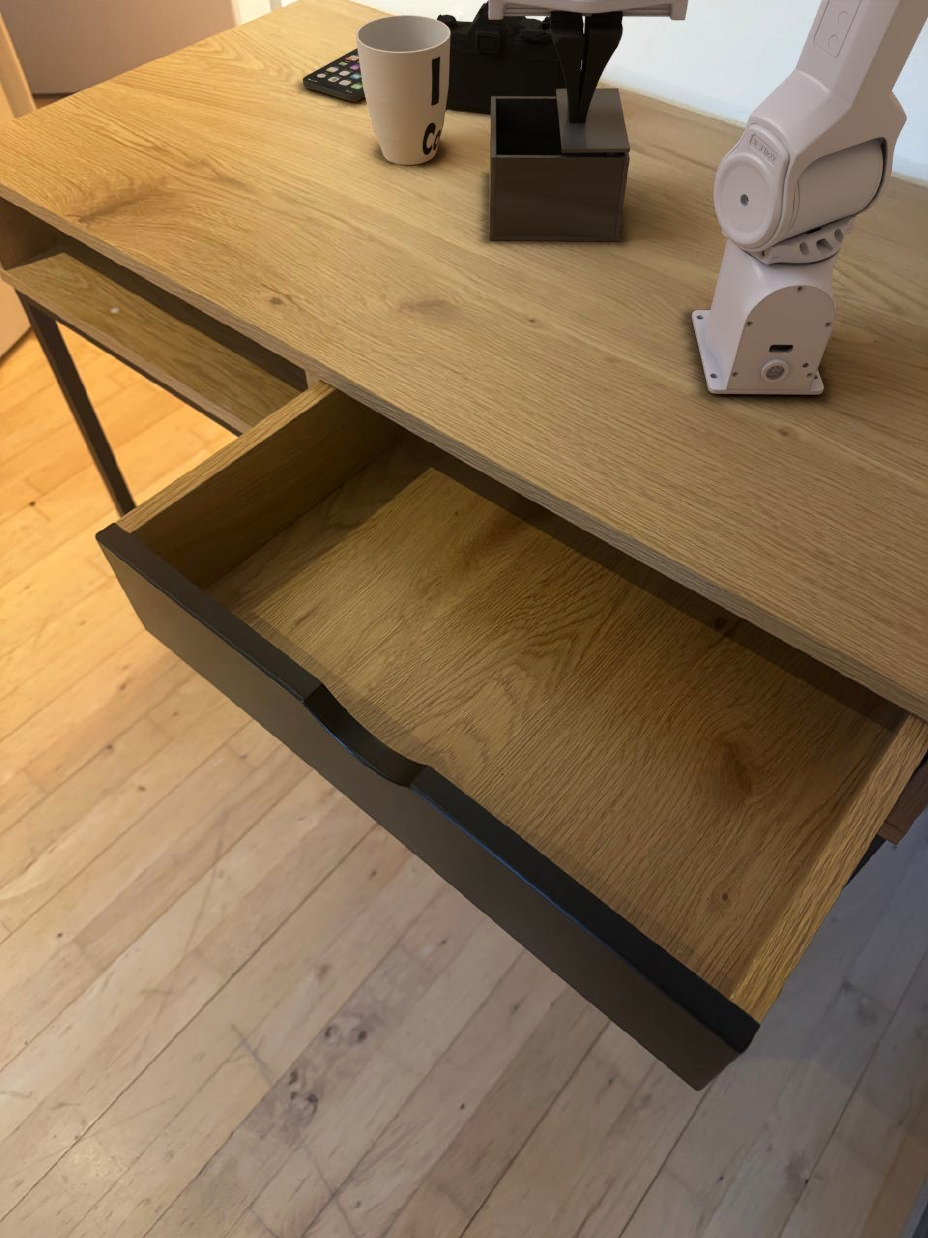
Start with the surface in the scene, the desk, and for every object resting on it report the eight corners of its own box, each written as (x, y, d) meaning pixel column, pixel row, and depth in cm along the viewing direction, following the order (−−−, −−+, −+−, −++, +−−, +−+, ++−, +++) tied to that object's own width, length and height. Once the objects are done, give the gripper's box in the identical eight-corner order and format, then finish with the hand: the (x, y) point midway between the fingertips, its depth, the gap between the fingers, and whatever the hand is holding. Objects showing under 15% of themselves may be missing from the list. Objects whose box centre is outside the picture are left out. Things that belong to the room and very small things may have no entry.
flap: (555, 92, 77) (556, 88, 76) (617, 91, 76) (618, 87, 76) (561, 152, 70) (562, 148, 70) (629, 152, 70) (630, 148, 70)
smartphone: (439, 46, 98) (355, 96, 91) (440, 53, 99) (355, 103, 91) (385, 31, 101) (298, 79, 93) (385, 38, 101) (299, 86, 94)
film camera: (585, 84, 94) (595, -17, 87) (566, 126, 88) (575, 21, 81) (445, 68, 97) (443, -31, 89) (418, 107, 91) (414, 5, 84)
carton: (489, 176, 82) (491, 95, 77) (608, 177, 82) (618, 96, 77) (489, 240, 76) (491, 156, 70) (618, 241, 76) (630, 157, 70)
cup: (441, 176, 82) (439, 55, 74) (356, 168, 83) (344, 48, 75) (459, 135, 87) (459, 18, 79) (378, 128, 88) (369, 11, 80)
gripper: (693, -107, 65) (660, 95, 75) (490, -108, 65) (486, 94, 76) (707, -75, 60) (670, 135, 71) (490, -76, 60) (486, 134, 71)
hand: (576, 117), depth 73 cm, fingers closed, pressing on flap
